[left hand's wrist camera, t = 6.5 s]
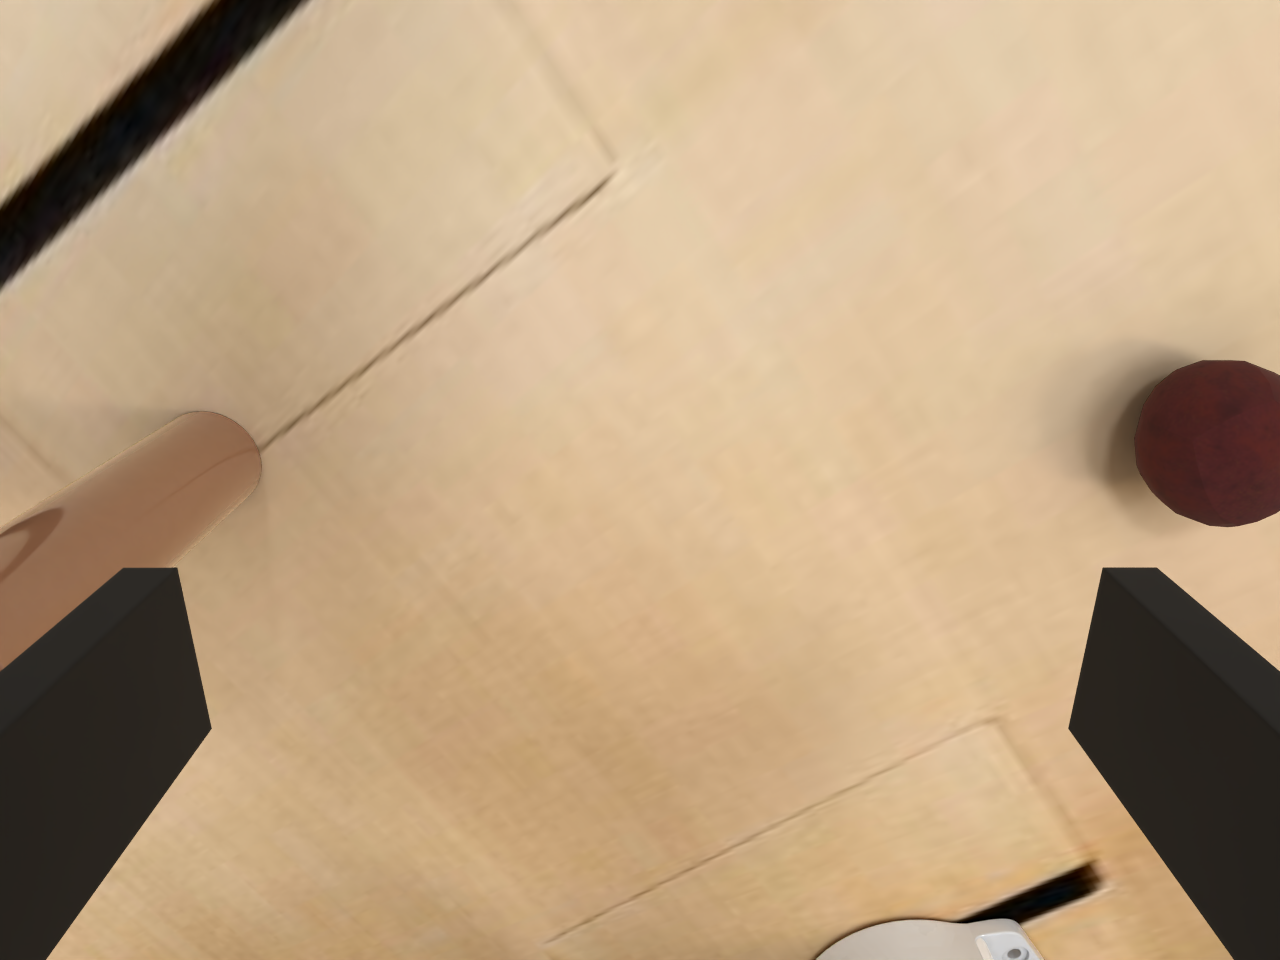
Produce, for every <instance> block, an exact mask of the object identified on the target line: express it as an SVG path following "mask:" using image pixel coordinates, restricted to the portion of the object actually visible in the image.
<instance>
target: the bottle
mask: <svg viewBox="0 0 1280 960" xmlns="http://www.w3.org/2000/svg"><path fill="white" fill-rule="evenodd" d="M260 476H261V458H260V454H259V451H258V449H257V446H256V445H255V443H254V441H253V439H252V438H251V437H250V435H249V434H248V433H247V432H246V431H245V430H244V429H243V428H242V427H241V426H240V425H238V424H237V423H236V422H234V421H232V420H231V419H229V418H227V417H225V416H222V415H219V414H216V413H211V412H191V413H187V414H184V415H181V416H179V417H178V418H176V419H174V420H173V421H171V422H169V423H168V424H166V425H165V426H163V427H161V428H160V429H158V430H156V431H155V432H153V433H152V434H150V435H148V436H147V437H145V438H144V439H142V440H140V441H139V442H137V443H135V444H134V445H132V446H131V447H129V448H127V449H126V450H124V451H123V452H121V453H119V454H118V455H116V456H114V457H113V458H111V459H110V460H108V461H106V462H105V463H103V464H102V465H100V466H98V467H97V468H95V469H93V470H92V471H90V472H89V473H87V474H85V475H84V476H82V477H81V478H79V479H77V480H76V481H74V482H72V483H71V484H69V485H68V486H66V487H64V488H63V489H61V490H60V491H58V492H56V493H55V494H53V495H51V496H50V497H48V498H47V499H45V500H43V501H42V502H40V503H39V504H37V505H35V506H34V507H32V508H30V509H29V510H27V511H26V512H24V513H22V514H21V515H19V516H18V517H16V518H14V519H13V520H11V521H9V522H8V523H6V524H5V525H3V526H1V527H0V671H1V670H3V669H4V668H5V667H6V666H7V665H9V664H10V663H11V662H12V661H13V660H14V659H16V658H17V657H18V656H19V655H20V654H22V653H23V652H24V651H25V650H26V649H27V648H29V647H30V646H31V645H32V644H33V643H35V642H36V641H37V640H38V639H39V638H41V637H42V636H43V635H44V634H45V633H46V632H48V631H49V630H50V629H51V628H52V627H54V626H55V625H56V624H57V623H58V622H59V621H61V620H62V619H63V618H64V617H65V616H67V615H68V614H69V613H70V612H71V611H72V610H74V609H75V608H76V607H77V606H78V605H80V604H81V603H82V602H83V601H84V600H85V599H87V598H88V597H89V596H90V595H91V594H93V593H94V592H95V591H96V590H97V589H99V588H100V587H101V586H102V585H103V584H104V583H106V582H107V581H108V580H109V579H110V578H112V577H113V576H114V575H115V574H116V573H117V572H119V571H120V570H121V569H122V568H172V567H173V566H174V565H175V564H176V563H177V562H179V561H180V560H181V559H182V558H183V557H184V556H185V555H186V554H187V553H188V552H189V551H190V550H191V549H192V548H194V547H195V546H196V545H197V544H198V543H199V542H200V541H201V540H202V539H203V538H204V537H205V536H206V535H208V534H209V533H210V532H211V531H212V530H213V529H214V528H215V527H216V526H217V525H218V524H219V523H220V522H221V521H223V520H224V519H225V518H226V517H227V516H228V515H229V514H230V513H231V512H232V511H233V510H234V509H235V508H236V507H238V506H239V505H240V504H241V503H242V502H243V501H244V500H245V499H246V498H247V497H248V496H249V495H250V494H251V493H252V492H253V491H254V490H255V488H256V486H257V484H258V482H259V479H260Z"/></svg>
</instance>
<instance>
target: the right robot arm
mask: <svg viewBox="0 0 1280 960" xmlns="http://www.w3.org/2000/svg"><path fill="white" fill-rule="evenodd" d="M816 960H1045V959H1044V958H1043V957H1042V955H1041V954H1040V952H1039V951H1038V950H1037V948H1036V947H1035V946H1034V944H1033V943H1032V941H1031V940H1030V939H1029V937H1028V936H1027V934H1026V933H1025V932H1024V930H1023V929H1022V928H1021V926H1020V925H1019V924H1018V923H1017V922H1015V921H1013V920H1011V919H992V920H985V921H979V922H973V923H968V924H959V923H949V922H942V921H934V920H901V921H894V922H888V923H883V924H879V925H875V926H872V927H869V928H866V929H863V930H860V931H858V932H855V933H853V934H851V935H849V936H847V937H845V938H843V939H842V940H840V941H838V942H837V943H835V944H834V945H832V946H831V947H829V948H828V949H827V950H825V951H824V952H823V953H822V954H821V955H820V956H819V957H818V958H817V959H816Z"/></svg>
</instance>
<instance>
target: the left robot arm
mask: <svg viewBox="0 0 1280 960" xmlns="http://www.w3.org/2000/svg"><path fill="white" fill-rule="evenodd" d="M211 729H212V728H211V723H210V719H209V714H208V709H207V705H206V700H205V695H204V691H203V686H202V681H201V677H200V672H199V667H198V663H197V658H196V653H195V649H194V644H193V639H192V634H191V630H190V625H189V620H188V616H187V611H186V606H185V602H184V597H183V592H182V588H181V583H180V578H179V574H178V569H177V568H122V569H121V570H120V571H119V572H117V573H116V574H115V575H114V576H113V577H112V578H110V579H109V580H108V581H107V582H106V583H104V584H103V585H102V586H101V587H100V588H99V589H97V590H96V591H95V592H94V593H93V594H91V595H90V596H89V597H88V598H87V599H85V600H84V601H83V602H82V603H81V604H80V605H78V606H77V607H76V608H75V609H74V610H72V611H71V612H70V613H69V614H68V615H67V616H65V617H64V618H63V619H62V620H61V621H59V622H58V623H57V624H56V625H55V626H54V627H52V628H51V629H50V630H49V631H48V632H46V633H45V634H44V635H43V636H42V637H41V638H39V639H38V640H37V641H36V642H35V643H33V644H32V645H31V646H30V647H29V648H27V649H26V650H25V651H24V652H23V653H22V654H20V655H19V656H18V657H17V658H16V659H14V660H13V661H12V662H11V663H10V664H9V665H7V666H6V667H5V668H4V669H3V670H1V671H0V960H46V959H47V957H48V956H49V955H50V953H51V952H52V951H53V949H54V948H55V946H56V945H57V944H58V942H59V941H60V939H61V938H62V937H63V935H64V934H65V932H66V931H67V930H68V928H69V927H70V925H71V924H72V923H73V921H74V920H75V918H76V917H77V916H78V914H79V913H80V911H81V910H82V909H83V907H84V906H85V904H86V903H87V902H88V900H89V899H90V898H91V896H92V895H93V893H94V892H95V891H96V889H97V888H98V886H99V885H100V884H101V882H102V881H103V879H104V878H105V877H106V875H107V874H108V872H109V871H110V870H111V868H112V867H113V865H114V864H115V863H116V861H117V860H118V858H119V857H120V856H121V854H122V853H123V852H124V850H125V849H126V847H127V846H128V845H129V843H130V842H131V840H132V839H133V838H134V836H135V835H136V833H137V832H138V831H139V829H140V828H141V826H142V825H143V824H144V822H145V821H146V819H147V818H148V817H149V815H150V814H151V812H152V811H153V810H154V808H155V807H156V805H157V804H158V803H159V801H160V800H161V799H162V797H163V796H164V794H165V793H166V792H167V790H168V789H169V787H170V786H171V785H172V783H173V782H174V780H175V779H176V778H177V776H178V775H179V773H180V772H181V771H182V769H183V768H184V766H185V765H186V764H187V762H188V761H189V759H190V758H191V757H192V755H193V754H194V752H195V751H196V750H197V748H198V747H199V746H200V744H201V743H202V741H203V740H204V739H205V737H206V736H207V734H208V733H209V732H210V730H211ZM1068 729H1069V730H1070V732H1071V733H1072V734H1073V736H1074V737H1075V739H1076V740H1077V741H1078V743H1079V744H1080V746H1081V747H1082V748H1083V750H1084V751H1085V752H1086V754H1087V755H1088V757H1089V758H1090V759H1091V761H1092V762H1093V764H1094V765H1095V766H1096V768H1097V769H1098V771H1099V772H1100V773H1101V775H1102V776H1103V778H1104V779H1105V780H1106V782H1107V783H1108V785H1109V786H1110V787H1111V789H1112V790H1113V792H1114V793H1115V794H1116V796H1117V797H1118V799H1119V800H1120V801H1121V803H1122V804H1123V805H1124V807H1125V808H1126V810H1127V811H1128V812H1129V814H1130V815H1131V817H1132V818H1133V819H1134V821H1135V822H1136V824H1137V825H1138V826H1139V828H1140V829H1141V831H1142V832H1143V833H1144V835H1145V836H1146V838H1147V839H1148V840H1149V842H1150V843H1151V845H1152V846H1153V847H1154V849H1155V850H1156V852H1157V853H1158V854H1159V856H1160V857H1161V858H1162V860H1163V861H1164V863H1165V864H1166V865H1167V867H1168V868H1169V870H1170V871H1171V872H1172V874H1173V875H1174V877H1175V878H1176V879H1177V881H1178V882H1179V884H1180V885H1181V886H1182V888H1183V889H1184V891H1185V892H1186V893H1187V895H1188V896H1189V898H1190V899H1191V900H1192V902H1193V903H1194V904H1195V906H1196V907H1197V909H1198V910H1199V911H1200V913H1201V914H1202V916H1203V917H1204V918H1205V920H1206V921H1207V923H1208V924H1209V925H1210V927H1211V928H1212V930H1213V931H1214V932H1215V934H1216V935H1217V937H1218V938H1219V939H1220V941H1221V942H1222V944H1223V945H1224V946H1225V948H1226V949H1227V951H1228V952H1229V953H1230V955H1231V956H1232V957H1233V959H1234V960H1280V671H1279V670H1277V669H1276V668H1275V667H1274V666H1273V665H1271V664H1270V663H1269V662H1268V661H1267V660H1266V659H1264V658H1263V657H1262V656H1261V655H1260V654H1258V653H1257V652H1256V651H1255V650H1254V649H1253V648H1251V647H1250V646H1249V645H1248V644H1247V643H1245V642H1244V641H1243V640H1242V639H1241V638H1239V637H1238V636H1237V635H1236V634H1235V633H1234V632H1232V631H1231V630H1230V629H1229V628H1228V627H1226V626H1225V625H1224V624H1223V623H1222V622H1221V621H1219V620H1218V619H1217V618H1216V617H1215V616H1213V615H1212V614H1211V613H1210V612H1209V611H1208V610H1206V609H1205V608H1204V607H1203V606H1202V605H1200V604H1199V603H1198V602H1197V601H1196V600H1195V599H1193V598H1192V597H1191V596H1190V595H1189V594H1187V593H1186V592H1185V591H1184V590H1183V589H1181V588H1180V587H1179V586H1178V585H1177V584H1176V583H1174V582H1173V581H1172V580H1171V579H1170V578H1168V577H1167V576H1166V575H1165V574H1164V573H1163V572H1161V571H1160V570H1159V569H1158V568H1103V569H1102V574H1101V578H1100V583H1099V588H1098V592H1097V597H1096V602H1095V606H1094V611H1093V616H1092V620H1091V625H1090V630H1089V634H1088V639H1087V644H1086V648H1085V653H1084V658H1083V663H1082V667H1081V672H1080V677H1079V681H1078V686H1077V691H1076V695H1075V700H1074V705H1073V709H1072V714H1071V719H1070V723H1069V728H1068Z"/></svg>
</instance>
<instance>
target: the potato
mask: <svg viewBox="0 0 1280 960" xmlns="http://www.w3.org/2000/svg"><path fill="white" fill-rule="evenodd" d="M1134 441H1135V452H1136V463H1137V467H1138V469H1139V472H1140V474H1141V476H1142V477H1143V479H1144V481H1145V482H1146V484H1147V485H1148V487H1149V488H1150V490H1151V491H1152V492H1153V493H1154V494H1155V495H1156V496H1157V497H1158V498H1159V499H1160V500H1161V501H1162V502H1163V503H1164V504H1165V505H1167V506H1168V507H1169V508H1170V509H1171V510H1173V511H1174V512H1175V513H1177V514H1179V515H1182V516H1185V517H1187V518H1190V519H1193V520H1195V521H1198V522H1201V523H1203V524H1206V525H1209V526H1220V527H1234V526H1241V525H1245V524H1249V523H1253V522H1257V521H1260V520H1262V519H1264V518H1266V517H1269V516H1271V515H1273V514H1276V513H1277V512H1279V511H1280V375H1278V374H1276V373H1274V372H1271V371H1269V370H1266V369H1264V368H1261V367H1259V366H1256V365H1254V364H1251V363H1248V362H1246V361H1233V360H1202V361H1199V362H1197V363H1194V364H1191V365H1188V366H1185V367H1182V368H1180V369H1177V370H1175V371H1174V372H1172V373H1171V374H1170V375H1169V376H1167V377H1166V378H1165V379H1164V380H1163V381H1161V382H1160V383H1159V384H1158V385H1157V386H1155V388H1154V389H1153V391H1152V393H1151V394H1150V396H1149V397H1148V399H1147V400H1146V402H1145V403H1144V406H1143V409H1142V412H1141V416H1140V419H1139V423H1138V427H1137V430H1136V434H1135V438H1134Z"/></svg>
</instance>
